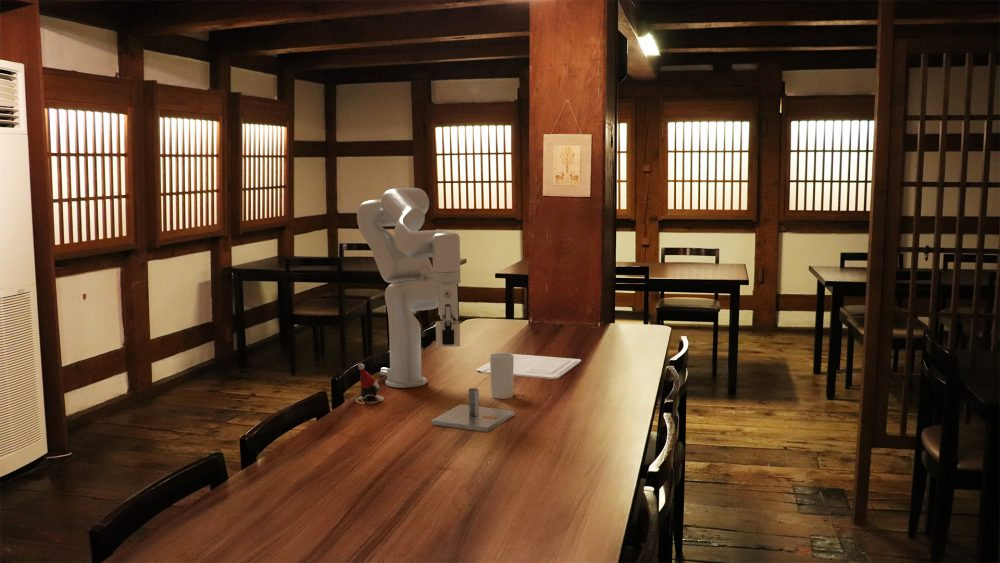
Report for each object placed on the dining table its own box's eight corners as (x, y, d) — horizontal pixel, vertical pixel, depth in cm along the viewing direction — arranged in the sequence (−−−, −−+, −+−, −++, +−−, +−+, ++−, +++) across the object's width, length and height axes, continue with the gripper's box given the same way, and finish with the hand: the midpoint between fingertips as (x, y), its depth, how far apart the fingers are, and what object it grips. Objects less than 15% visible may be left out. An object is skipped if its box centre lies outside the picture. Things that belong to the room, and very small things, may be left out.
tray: (474, 373, 275) (473, 369, 275) (506, 356, 301) (506, 351, 301) (556, 381, 265) (556, 376, 265) (582, 362, 290) (582, 357, 290)
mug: (508, 400, 242) (508, 358, 240) (486, 397, 244) (486, 356, 243) (521, 391, 251) (521, 351, 249) (500, 389, 253) (499, 349, 252)
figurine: (395, 382, 247) (375, 364, 238) (384, 414, 243) (364, 396, 233) (371, 380, 251) (351, 361, 241) (360, 411, 246) (339, 393, 237)
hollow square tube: (436, 347, 233) (436, 324, 232) (436, 342, 240) (435, 320, 239) (460, 346, 234) (459, 323, 233) (459, 341, 240) (458, 319, 239)
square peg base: (431, 424, 219) (431, 393, 218) (460, 408, 233) (459, 379, 232) (487, 432, 212) (487, 400, 211) (513, 415, 227) (513, 385, 226)
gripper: (462, 281, 226) (463, 347, 228) (459, 273, 243) (459, 335, 245) (433, 281, 225) (434, 348, 228) (432, 274, 242) (433, 336, 245)
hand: (447, 341), depth 237 cm, fingers closed on hollow square tube, 6 cm apart
